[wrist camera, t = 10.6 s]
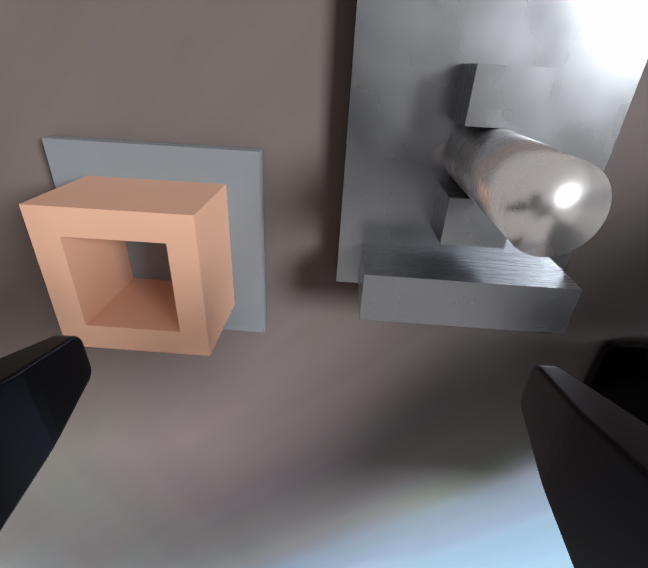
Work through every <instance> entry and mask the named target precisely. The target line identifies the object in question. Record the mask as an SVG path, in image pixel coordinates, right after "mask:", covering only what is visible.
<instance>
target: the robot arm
mask: <svg viewBox="0 0 648 568" xmlns="http://www.w3.org/2000/svg"><path fill="white" fill-rule="evenodd" d="M613 351H615V352H613ZM612 352H613V353H612ZM90 375H91V366H90V363H89V360H88V357H87V354H86V351H85V348H84V344H83V342H82V340H81V339H80V338H79V337H77V336H70V335H56V336H53V337H51V338H48V339H46V340H43V341H41V342H38V343H36V344H34V345H31V346H29V347H26V348H24V349H22V350H19V351H17V352H14V353H12V354H10V355H7V356H5V357H2V358H0V531H1V529H2V528H3V526H4V524H5V523H6V521H7V520H8V518H9V517H10V515H11V514H12V512H13V510H14V509H15V507H16V506H17V504H18V503H19V501H20V500H21V498H22V496H23V495H24V493H25V492H26V490H27V489H28V487H29V486H30V484H31V483H32V481H33V479H34V478H35V476H36V475H37V473H38V472H39V470H40V469H41V467H42V465H43V464H44V462H45V461H46V459H47V458H48V456H49V454H50V453H51V451H52V449H53V448H54V446H55V444H56V442H57V441H58V439H59V437H60V435H61V433H62V431H63V429H64V428H65V426H66V424H67V422H68V420H69V418H70V416H71V414H72V412H73V410H74V408H75V406H76V404H77V402H78V400H79V399H80V397H81V395H82V393H83V391H84V389H85V387H86V385H87V383H88V381H89V379H90ZM521 407H522V412H523V415H524V419H525V423H526V427H527V430H528V434H529V438H530V442H531V445H532V449H533V453H534V457H535V460H536V464H537V468H538V471H539V475H540V478H541V482H542V485H543V488H544V491H545V493H546V496H547V499H548V501H549V504H550V507H551V509H552V512H553V514H554V517H555V520H556V522H557V525H558V527H559V530H560V533H561V535H562V538H563V540H564V543H565V545H566V548H567V551H568V553H569V556H570V558H571V561H572V564H573V566H574V568H648V344H643V343H629V342H609V343H606V344H605V345H604V346H603V347H602V348H601V350H600V352H599V354H598V356H597V358H596V360H595V362H594V364H593V366H592V368H591V370H590V372H589V374H588V376H587V378H586V380H585V382H584V383H582V382H581V381H579V380H578V379H576V378H575V377H573V376H572V375H570V374H568V373H567V372H565V371H564V370H562V369H561V368H559V367H556V366H545V365H536V366H534V367H533V368H532V370H531V372H530V374H529V377H528V380H527V383H526V386H525V389H524V392H523V394H522V399H521Z"/></svg>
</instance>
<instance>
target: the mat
mask: <svg viewBox="0 0 648 568" xmlns="http://www.w3.org/2000/svg"><path fill="white" fill-rule="evenodd" d="M42 141H43V145H44V148H45V152H46V156H47V159H48V163H49V166H50V170H51V173H52V177H53V181H54V184H55V188H58V187H61V186H63V185H65V184H68V183H70V182H72V181H75V180H77V179H80V178H82V177H84V176H87V175H88V176H104V177H120V178H136V179H152V180H169V181H185V182H201V183H217V184H226V192H227V206H228V219H229V233H230V247H231V260H232V274H233V287H234V301H235V305H234V307H233V309H232V311H231V313H230V315H229V317H228V319H227V322H226V324H225V326H224V328H223V329H225V330H238V331H252V332H265V329H266V289H265V248H264V207H263V165H262V149H254V148H238V147H222V146H206V145H190V144H175V143H159V142H143V141H127V140H111V139H95V138H80V137H64V136H48V137H44V138H42ZM126 245H127V250H128V255H129V260H130V264H131V269H132V274H133V278H139V279H154V280H168V281H172V278H171V271H170V265H169V259H168V252H167V246H166V243H151V242H136V241H126Z"/></svg>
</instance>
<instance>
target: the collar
mask: <svg viewBox="0 0 648 568" xmlns="http://www.w3.org/2000/svg"><path fill="white" fill-rule="evenodd" d="M19 206H20V209H21V212H22V215H23V218H24V221H25V224H26V227H27V230H28V233H29V236H30V239H31V242H32V245H33V248H34V251H35V254H36V257H37V260H38V263H39V266H40V269H41V272H42V275H43V278H44V281H45V284H46V287H47V290H48V293H49V296H50V299H51V302H52V305H53V308H54V311H55V314H56V317H57V320H58V323H59V325H60V328H61V331H62V334H63V335H70V336H77V337H79V338H80V339H81V340H82V342H83V344H84V347H96V348H109V349H123V350H137V351H151V352H164V353H178V354H192V355H206V356H210V355H211V353H212V351H213V349H214V347H215V345H216V343H217V340H218V338H219V336H220V334H221V332H222V330H223V328H224V326H225V324H226V322H227V319H228V317H229V315H230V313H231V311H232V309H233V307H234V305H235V301H234V287H233V274H232V260H231V247H230V233H229V219H228V206H227V192H226V184H217V183H201V182H185V181H169V180H152V179H136V178H120V177H104V176H88V175H87V176H84V177H82V178H80V179H77V180H75V181H72V182H70V183H68V184H65V185H63V186H61V187H58V188H56V189H54V190H51V191H49V192H46V193H44V194H42V195H39V196H37V197H35V198H32V199H30V200H28V201H25V202H23V203H20V204H19ZM126 241H136V242H151V243H166V246H167V252H168V259H169V265H170V271H171V278H172V281H168V280H154V279H139V278H133V274H132V269H131V264H130V260H129V255H128V250H127V245H126Z"/></svg>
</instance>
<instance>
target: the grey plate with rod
mask: <svg viewBox="0 0 648 568" xmlns="http://www.w3.org/2000/svg"><path fill="white" fill-rule="evenodd" d="M647 59H648V0H357V8H356V21H355V35H354V48H353V61H352V75H351V88H350V102H349V115H348V129H347V142H346V155H345V169H344V182H343V196H342V209H341V223H340V236H339V249H338V263H337V278H336V281H338V282H352V283H358V297H359V319H361V320H374V321H388V322H402V323H416V324H429V325H443V326H457V327H471V328H484V329H498V330H512V331H526V332H539V333H553V334H564V333H565V331H566V329H567V326H568V324H569V322H570V319H571V317H572V315H573V312H574V310H575V308H576V305H577V303H578V300H579V298H580V296H581V293H582V291H583V290H582V289H581V288H580V287H579V286H578V285H577V284H576V283H575V282H574V281H573V280H572V279H571V278H570V277H569V276H568V275H567V274H566V273H565V270H566V268H567V265H568V263H569V260H570V257H571V255H572V252H573V250H574V249H576V248H578V247H580V246H581V245H583V244H584V243H586V242H587V241H588V240H589V239H590V238H592V237H593V236H594V235H595V234H596V233H597V231H598V230H599V229H600V227H601V226H602V225H603V223H604V221H605V220H606V217H607V215H608V213H609V210H610V206H611V201H612V191H611V186H610V183H609V180H608V178H607V176H606V175H605V174H604V170H605V167H606V165H607V162H608V160H609V157H610V154H611V152H612V149H613V147H614V144H615V141H616V139H617V136H618V134H619V131H620V129H621V126H622V123H623V121H624V118H625V116H626V113H627V111H628V108H629V105H630V103H631V100H632V98H633V95H634V93H635V90H636V87H637V85H638V82H639V80H640V77H641V75H642V72H643V69H644V67H645V64H646V62H647Z"/></svg>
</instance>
